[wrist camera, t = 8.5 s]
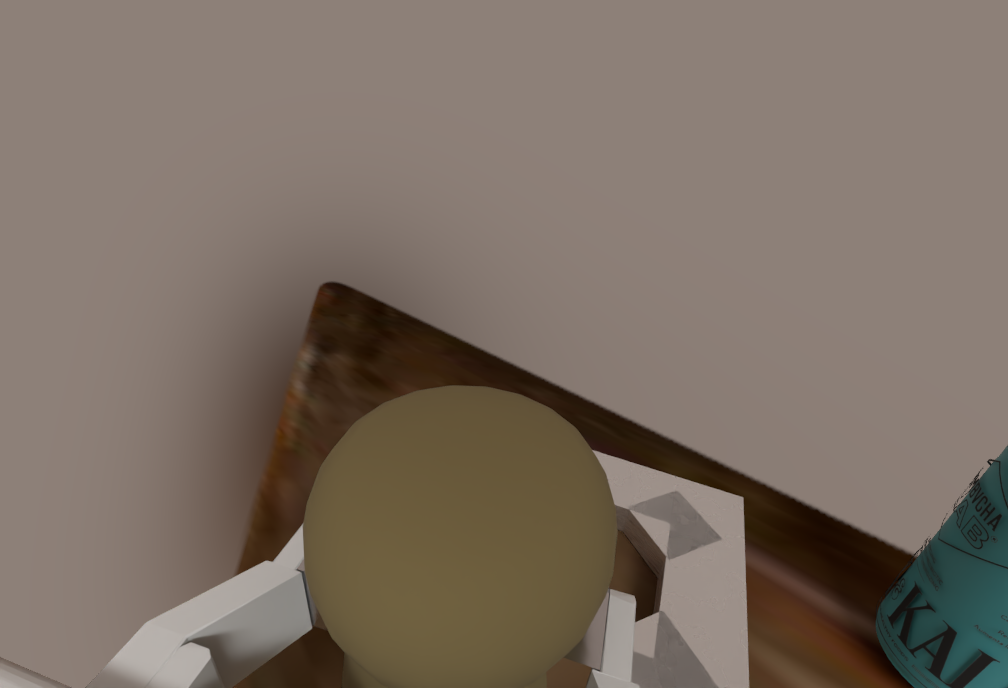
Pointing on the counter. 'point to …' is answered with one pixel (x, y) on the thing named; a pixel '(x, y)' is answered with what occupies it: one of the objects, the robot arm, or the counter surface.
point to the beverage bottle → (955, 596)
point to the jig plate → (685, 577)
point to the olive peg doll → (458, 541)
